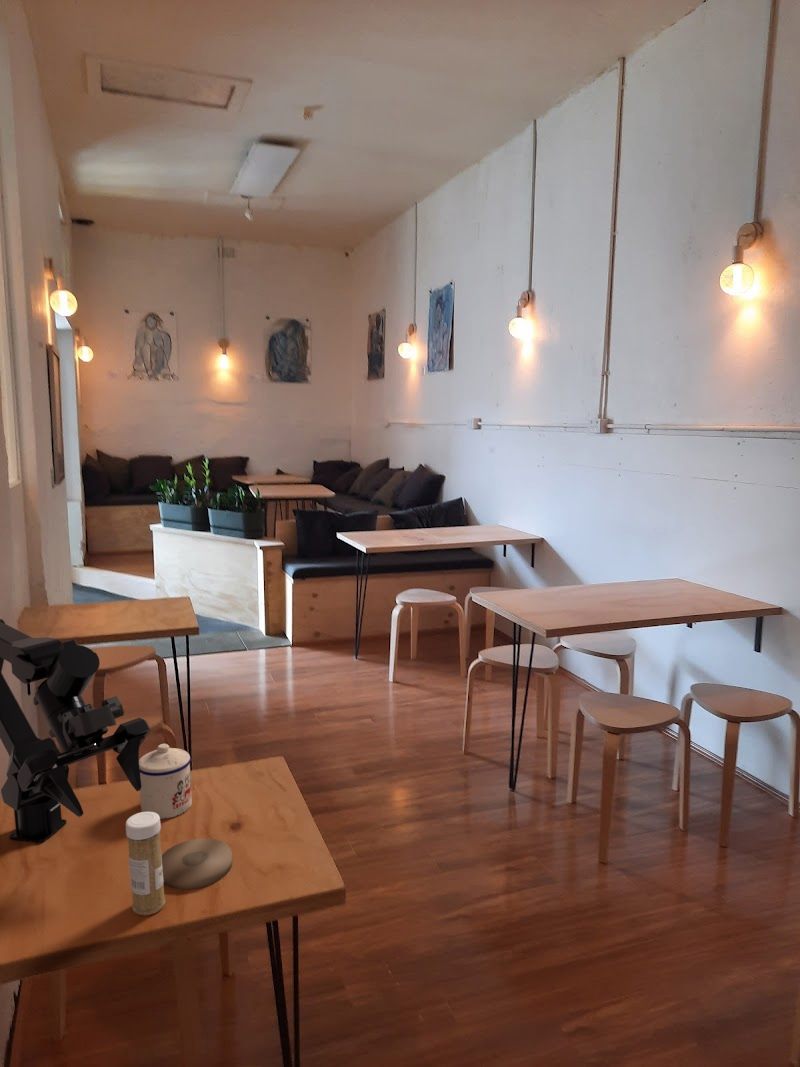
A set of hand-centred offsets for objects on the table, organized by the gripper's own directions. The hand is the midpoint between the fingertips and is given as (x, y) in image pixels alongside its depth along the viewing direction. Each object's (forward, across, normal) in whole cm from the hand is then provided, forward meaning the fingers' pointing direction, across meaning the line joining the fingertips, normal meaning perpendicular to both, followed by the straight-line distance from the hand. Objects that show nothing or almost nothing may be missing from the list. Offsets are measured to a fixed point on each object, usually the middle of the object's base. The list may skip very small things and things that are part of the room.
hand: (111, 802), depth 110 cm
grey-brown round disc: (+13, +10, +6) cm, 17 cm away
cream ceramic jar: (-1, +19, +20) cm, 28 cm away
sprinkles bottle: (+15, 0, +4) cm, 16 cm away
